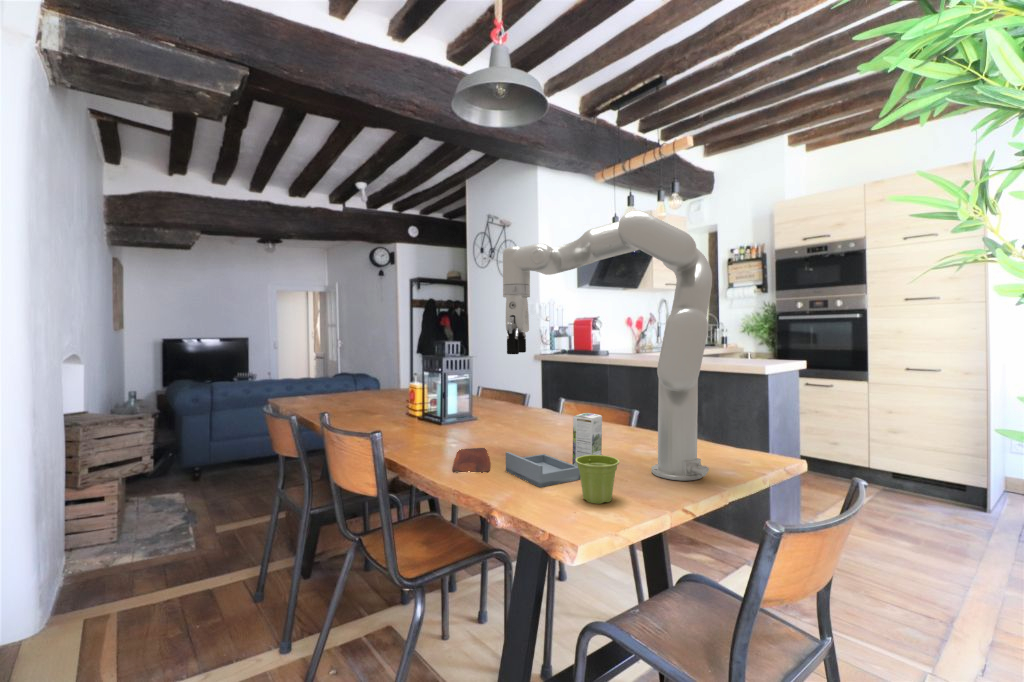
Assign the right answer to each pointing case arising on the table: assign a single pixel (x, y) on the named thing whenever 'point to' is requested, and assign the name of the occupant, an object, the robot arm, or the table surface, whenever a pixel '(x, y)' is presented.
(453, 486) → the table surface
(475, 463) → the wooden tablet
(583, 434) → the syrup box
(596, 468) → the plant pot
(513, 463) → the tray
